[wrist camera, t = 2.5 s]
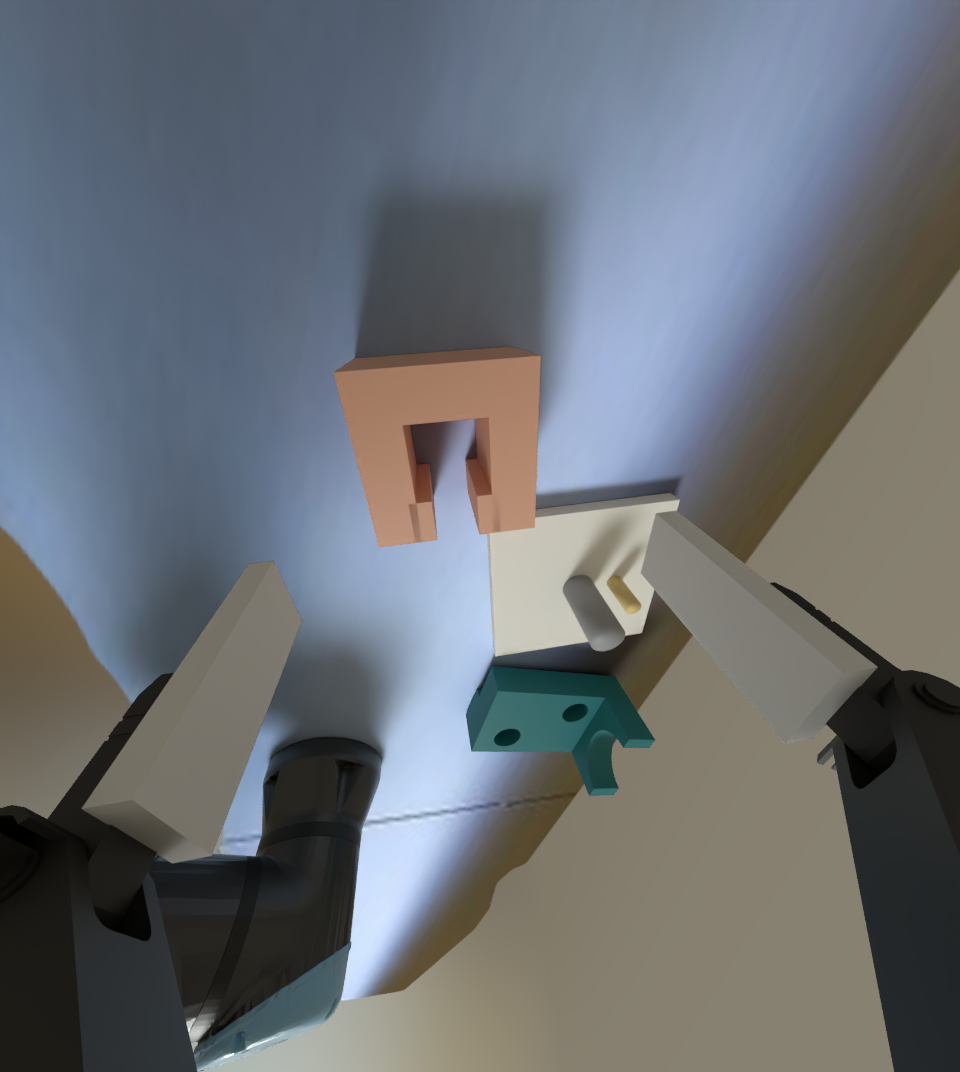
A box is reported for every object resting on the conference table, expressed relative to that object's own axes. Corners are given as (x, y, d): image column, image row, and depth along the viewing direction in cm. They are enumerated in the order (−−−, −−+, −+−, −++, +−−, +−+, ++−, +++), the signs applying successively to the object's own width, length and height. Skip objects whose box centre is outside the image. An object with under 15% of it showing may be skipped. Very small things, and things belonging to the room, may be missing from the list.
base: (493, 646, 42) (508, 714, 35) (486, 515, 32) (505, 572, 25) (635, 623, 43) (677, 684, 36) (670, 492, 34) (737, 540, 26)
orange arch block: (354, 358, 24) (333, 372, 18) (511, 346, 25) (540, 355, 19) (386, 501, 30) (378, 547, 24) (512, 487, 31) (534, 527, 25)
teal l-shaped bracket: (609, 668, 49) (655, 739, 40) (578, 719, 53) (613, 794, 44) (489, 657, 44) (509, 737, 35) (465, 714, 48) (478, 799, 39)
